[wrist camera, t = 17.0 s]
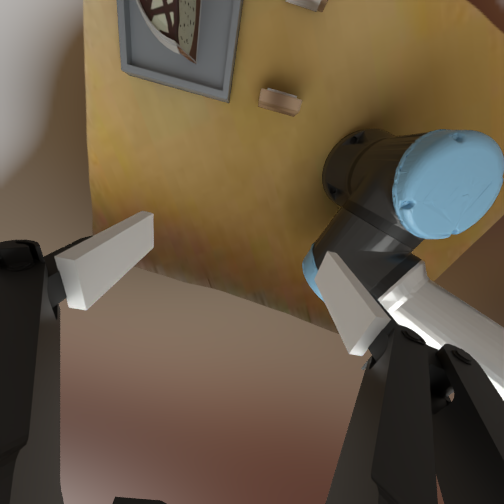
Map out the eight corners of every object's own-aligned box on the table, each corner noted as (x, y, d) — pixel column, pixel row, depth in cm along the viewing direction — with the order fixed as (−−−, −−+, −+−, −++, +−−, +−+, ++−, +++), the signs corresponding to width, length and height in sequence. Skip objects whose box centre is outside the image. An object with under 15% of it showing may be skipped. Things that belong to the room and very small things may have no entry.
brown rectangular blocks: (326, -3, 30) (338, -30, 25) (293, 116, 37) (299, 111, 32) (282, -18, 29) (288, -49, 24) (258, 106, 36) (259, 100, 32)
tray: (248, -38, 28) (247, -54, 26) (229, 103, 36) (227, 99, 34) (121, -82, 26) (109, -104, 24) (130, 75, 34) (121, 70, 32)
